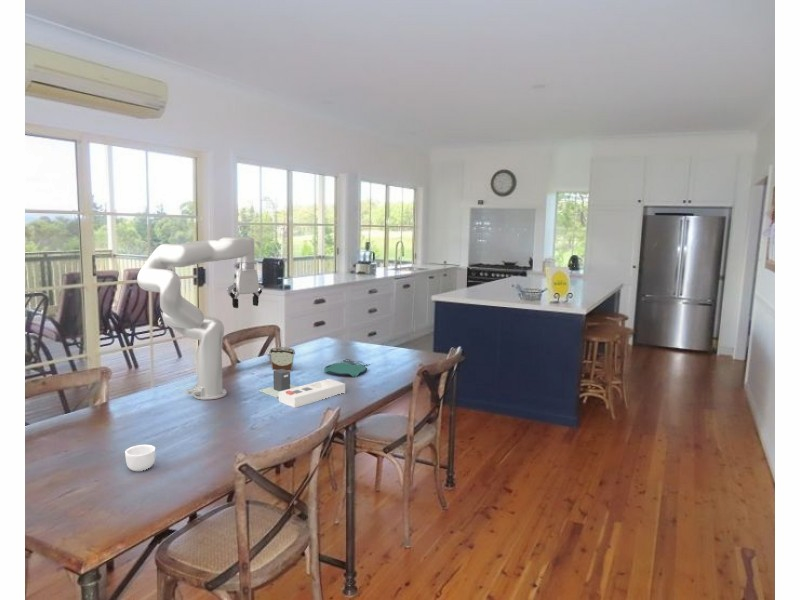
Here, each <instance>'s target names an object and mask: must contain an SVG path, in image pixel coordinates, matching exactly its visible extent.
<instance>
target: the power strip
mask: <svg viewBox="0 0 800 600" xmlns="http://www.w3.org/2000/svg"><path fill="white" fill-rule="evenodd" d="M341 393H344V394H346V383H344V382H341V381H338V380H334V379H332V378H327V379H323V380H319V381H315V382H310V383H307V384H304V385H300V386H296V387H295V388H291V389H287V390H283V391H279V398H278V402H279V403H282V404H284V405H286V406H288V407H292V408H293V409H296V408H299V407H302V406H306V405H309V404H312V403H316V402H319V400H320V401H323V400H326V399H325V398H327V399H329V398H328V397H330V398H332V397H331V396H334V395H337V394H340V395H342V394H341ZM337 396H338V395H337ZM334 397H335V396H334ZM322 399H323V400H322Z"/></svg>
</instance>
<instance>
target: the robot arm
mask: <svg viewBox="0 0 800 600" xmlns="http://www.w3.org/2000/svg"><path fill="white" fill-rule="evenodd" d="M226 260H235V264H233V268H235V269H234V272H233V277H232V279H233V280H232V284H231V285H230V286H228V287H227V288H226V292H227V293H228V296H229V297H230V298H231V299H232V304H231V305H232V308H234V309H239V296H240V295H245V294H246V295H247V294H248V295H249V294H252V295H253V296H252V306H254V307H255V306H256V307H258V306H259V303H260V302H259V301H260V300H259V299H260V298H259V297H260V295H261V294H262V293H263V289H264V287H265V286H264V285H263V284H261V283H259V277H258V271H257V269H256V268H255V264H256V263H255V240H254V238H253V237H250V236H223V237H221V238H219V239H217V240H216V239H215V240H214V239H202V240H196V241H190V242H185V243H184V242H183V243H167V242H166V243H162V244H160V245H159V246H157V247H156V248H155V249H154V250H153V252H151V254H150V255H149V257H148V258H147V259H146V261H145V262H144V264H143V265H142V267H141V268H140V270H139V272H138V273H137V276H136V277H137V278H136V282H137V285H138V287H139V288H140V289H142V290H144V291H146V292H151V293H152V292H153V293H159V307H160V310H161V312H162V315H161V316H162V319H163V322H164V323H165V324H166V326H168V327H169V328H171V329H172V330H174V331H175V332H177V333H179V334H181V335H182V336H184V337H186V338H187V339H193V340H198V341H200V342H199V344H198V346H197V348H196V353H195V355H196V384H194V386H193V387H192V388H188V389H185V391H184V392H185V395H186V396H187V395H191V394H192V396H193V398H195V399H197V400H204V401H205V400H207V401H208V400H216V399H217V400H218V399H221V398H223V397H225V396H226V395H227V389H225V388H223V351H222V350H223V339H224V334H225V326H224V324H223V322H222V321H221V320H220V319H218V318H216V317H211V316H205V315H204V312H203V311H202V309H200V308H199V307H197V306H196V305H194V304H193V303H191V302H190V301H188V300H187V299H186V298H185V297H183V296H182V294H181V293H182V292H181V286H182V285H181V283H182V282H181V279H180V276H179V274H178V273H177V272H175V271H173V270H170V269H168V267H170V268H171V267H172V268H185V267H189V266H195V265H200V264H205V263H211V262H219V261H220V262H221V261H226Z"/></svg>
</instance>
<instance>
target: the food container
mask: <svg viewBox="0 0 800 600" xmlns="http://www.w3.org/2000/svg"><path fill="white" fill-rule="evenodd" d="M269 354H270V363H271V370H273V371H275V370H279V369H284V370H287V371H290V372H292V371H293V365H294V358H295V357H294V356H295V355H296V351H295V349H294V348H293V347H287V346H277V347H273V348H270V349H269Z"/></svg>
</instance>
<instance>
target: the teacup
mask: <svg viewBox="0 0 800 600" xmlns="http://www.w3.org/2000/svg"><path fill="white" fill-rule="evenodd" d="M124 455H125V462H126V466H127V467H128V468H129V470H131V471H133V472H144V471H146V469H147V470H149V469H150V468H152V467H153V465H154V463H155V460H156V446H154V445H151V444H138V445H134V446H131V447H128V448H126V449H125V451H124ZM148 468H149V469H148ZM143 470H144V471H143Z"/></svg>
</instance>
